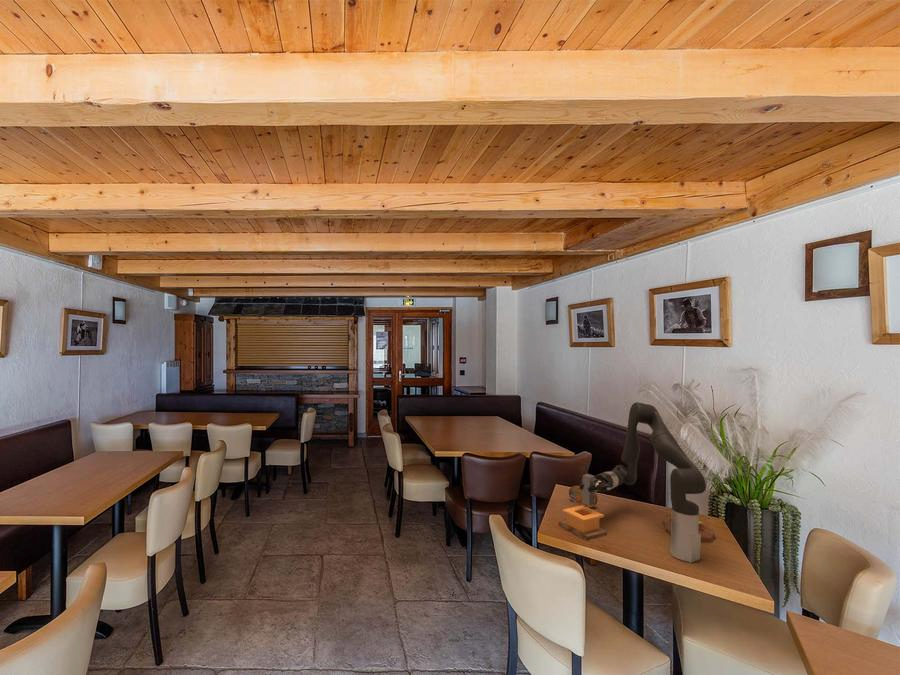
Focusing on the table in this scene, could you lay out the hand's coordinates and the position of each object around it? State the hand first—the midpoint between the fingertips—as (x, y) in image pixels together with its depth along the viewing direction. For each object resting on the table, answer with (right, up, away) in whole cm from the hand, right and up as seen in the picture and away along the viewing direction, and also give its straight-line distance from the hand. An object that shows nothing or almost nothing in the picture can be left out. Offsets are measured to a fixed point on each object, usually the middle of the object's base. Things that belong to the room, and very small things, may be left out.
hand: (584, 488), depth 185 cm
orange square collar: (-1, -16, 0) cm, 16 cm away
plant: (+46, -20, +2) cm, 50 cm away
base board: (-1, -18, 0) cm, 18 cm away
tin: (+8, -19, +30) cm, 36 cm away
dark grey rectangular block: (+2, -7, +2) cm, 8 cm away
